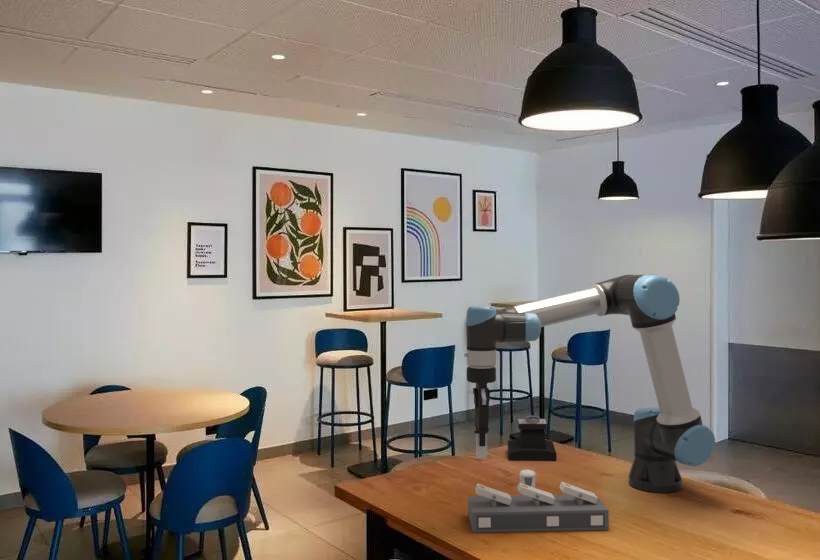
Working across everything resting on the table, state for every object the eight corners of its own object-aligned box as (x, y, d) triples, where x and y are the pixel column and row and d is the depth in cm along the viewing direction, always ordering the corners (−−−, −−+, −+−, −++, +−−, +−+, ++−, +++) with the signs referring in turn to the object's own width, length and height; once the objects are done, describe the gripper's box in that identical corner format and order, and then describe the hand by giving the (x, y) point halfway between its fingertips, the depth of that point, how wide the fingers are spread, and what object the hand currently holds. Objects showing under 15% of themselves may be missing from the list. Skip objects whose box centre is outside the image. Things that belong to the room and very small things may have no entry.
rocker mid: (549, 498, 179) (551, 492, 179) (553, 505, 175) (555, 498, 175) (516, 487, 179) (519, 481, 179) (519, 493, 174) (522, 487, 174)
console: (595, 512, 183) (595, 489, 183) (609, 530, 171) (608, 505, 171) (468, 515, 183) (467, 491, 183) (472, 532, 171) (472, 507, 170)
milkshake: (539, 506, 189) (538, 469, 189) (519, 505, 190) (518, 469, 190) (539, 500, 193) (538, 465, 193) (520, 499, 194) (519, 464, 194)
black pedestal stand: (508, 422, 232) (506, 409, 247) (509, 463, 234) (507, 448, 248) (556, 423, 230) (551, 409, 245) (556, 464, 232) (551, 448, 247)
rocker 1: (507, 499, 179) (509, 493, 179) (510, 505, 174) (512, 499, 174) (474, 488, 179) (476, 482, 179) (476, 494, 174) (478, 488, 174)
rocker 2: (591, 498, 179) (593, 492, 179) (596, 504, 175) (598, 498, 175) (558, 486, 179) (561, 480, 179) (562, 492, 175) (565, 486, 174)
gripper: (464, 362, 183) (464, 451, 183) (469, 370, 169) (469, 465, 170) (492, 362, 183) (492, 450, 183) (499, 369, 170) (499, 464, 170)
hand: (481, 457), depth 176 cm, fingers closed
